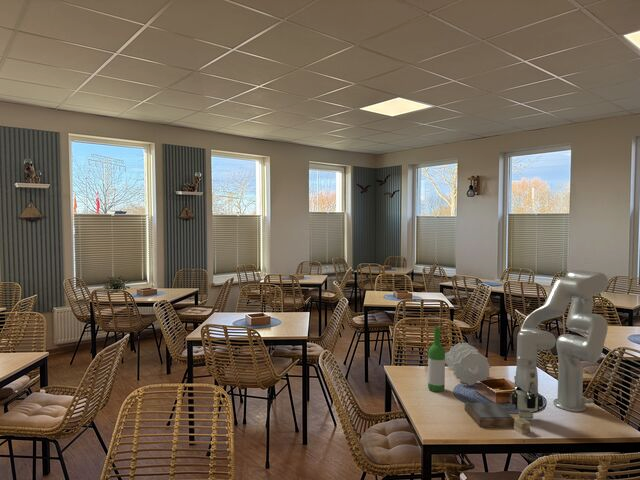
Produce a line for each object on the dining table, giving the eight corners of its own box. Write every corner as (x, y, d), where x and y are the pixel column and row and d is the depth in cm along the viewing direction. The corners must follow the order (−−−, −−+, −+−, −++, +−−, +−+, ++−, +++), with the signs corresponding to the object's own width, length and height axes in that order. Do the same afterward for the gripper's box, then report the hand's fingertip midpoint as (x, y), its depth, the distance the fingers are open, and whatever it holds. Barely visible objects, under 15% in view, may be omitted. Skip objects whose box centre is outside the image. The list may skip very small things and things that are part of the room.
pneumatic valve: (542, 422, 181) (543, 393, 180) (511, 420, 183) (512, 391, 183) (538, 417, 186) (539, 388, 186) (508, 414, 189) (509, 386, 188)
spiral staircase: (466, 379, 243) (483, 394, 218) (437, 364, 243) (450, 378, 218) (481, 348, 244) (499, 360, 219) (452, 334, 244) (467, 344, 219)
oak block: (522, 428, 176) (522, 418, 176) (530, 433, 172) (530, 422, 172) (513, 429, 175) (514, 419, 175) (521, 434, 171) (521, 424, 171)
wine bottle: (444, 387, 219) (445, 326, 218) (444, 393, 212) (445, 330, 211) (427, 386, 221) (428, 325, 220) (427, 391, 214) (428, 329, 213)
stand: (496, 409, 193) (496, 401, 193) (514, 426, 177) (514, 417, 177) (464, 410, 193) (464, 402, 193) (479, 426, 177) (479, 418, 177)
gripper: (547, 368, 175) (545, 412, 176) (524, 356, 193) (523, 395, 193) (528, 368, 175) (526, 412, 175) (507, 355, 192) (506, 395, 193)
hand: (524, 403), depth 184 cm, fingers open, 9 cm apart
